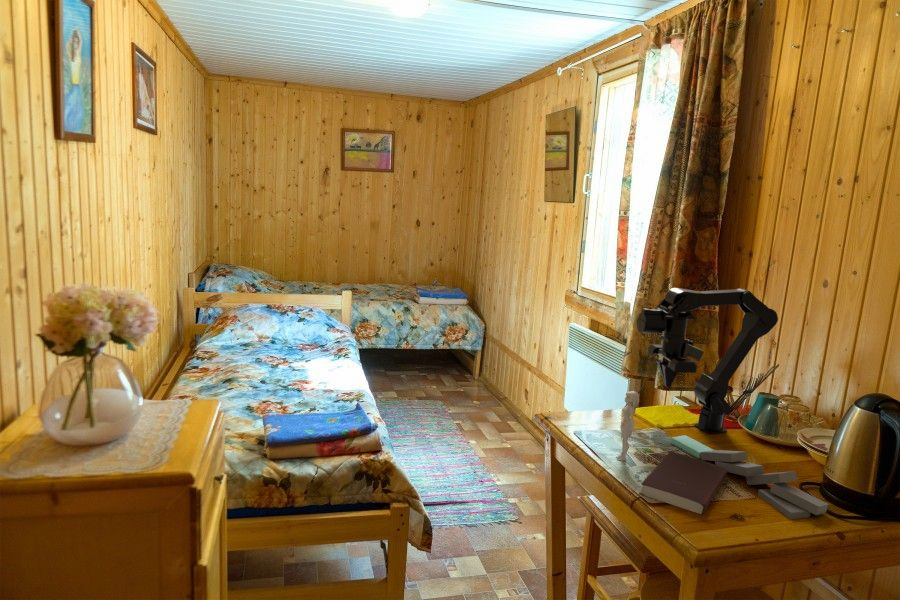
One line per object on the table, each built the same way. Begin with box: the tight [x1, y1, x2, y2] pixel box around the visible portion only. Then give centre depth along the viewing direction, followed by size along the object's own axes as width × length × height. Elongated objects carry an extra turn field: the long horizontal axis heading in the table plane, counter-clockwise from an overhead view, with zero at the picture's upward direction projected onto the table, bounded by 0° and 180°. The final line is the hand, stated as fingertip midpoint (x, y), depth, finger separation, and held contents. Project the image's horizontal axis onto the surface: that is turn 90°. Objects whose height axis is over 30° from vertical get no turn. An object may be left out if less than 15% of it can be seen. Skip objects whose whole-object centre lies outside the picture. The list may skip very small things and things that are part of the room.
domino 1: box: [700, 449, 748, 462], centre depth 156 cm, size 5×2×10 cm
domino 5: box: [770, 482, 830, 516], centre depth 137 cm, size 5×2×10 cm
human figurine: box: [615, 390, 640, 462], centre depth 156 cm, size 12×4×18 cm, turn 175°
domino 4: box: [757, 488, 812, 520], centre depth 138 cm, size 5×2×10 cm
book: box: [638, 451, 728, 516], centre depth 145 cm, size 14×22×4 cm, turn 144°
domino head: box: [670, 434, 714, 459], centre depth 166 cm, size 5×2×10 cm
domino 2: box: [714, 461, 765, 477], centre depth 151 cm, size 5×2×10 cm
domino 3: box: [745, 470, 799, 486], centre depth 144 cm, size 5×2×10 cm
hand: (667, 387), depth 177 cm, fingers closed
